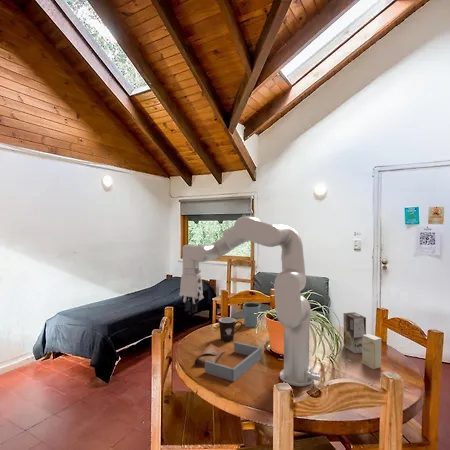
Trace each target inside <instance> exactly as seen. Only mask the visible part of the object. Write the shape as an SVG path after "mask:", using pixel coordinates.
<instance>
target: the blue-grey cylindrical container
mask: <svg viewBox="0 0 450 450" xmlns="http://www.w3.org/2000/svg"><path fill="white" fill-rule="evenodd" d="M242 307H243V308H242V309H243V325H244V327H246V328H257V327H256V325H257V317H258V314H254V313H258V312H261V304H260V303H258V302H253V301H251V302H250V301H249V302H245V303H243V304H242Z"/></svg>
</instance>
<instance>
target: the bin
mask: <svg viewBox="0 0 450 450" xmlns="http://www.w3.org/2000/svg"><path fill="white" fill-rule="evenodd" d="M262 349H263V348H262V347H260V346H259V347H258V346H255V345H252V344H251V345H250V344H247V343H246V344H245V343H242V342H238V341H234V342H233V352H234V353H236V354H241V355H245V356H246V357H245V358H244V359H243V360H242V361H240V362H239V363H238V364H236V365H235V366H234V367H230V366H228V365H224V364H221V363H218V362H216V363H213V362H210V361H207V360H206V361H205V367H204V373H205V374H208V375H211V376H215V377H217V378H221V379H225V380H227V381H230V382H236V381H237V380H238V379H239V378H241V376H243V375H244V374H245V373H246V372H247V371H248V370H250V369H251V368H252V367H253V366H254V365H256V364H257V362H259V361H260V360H261V359H263V357H262V354H263V353H262Z"/></svg>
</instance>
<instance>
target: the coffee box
mask: <svg viewBox="0 0 450 450" xmlns="http://www.w3.org/2000/svg"><path fill="white" fill-rule="evenodd" d="M365 334H367V317H365V316H364V315H361V314H360V313H357V312H353V311H352V312H344V313H343V346H344V348H346V349H348V351H350V352H351V353H353V354H360V353H361V354H362V343H363V335H365Z"/></svg>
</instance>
